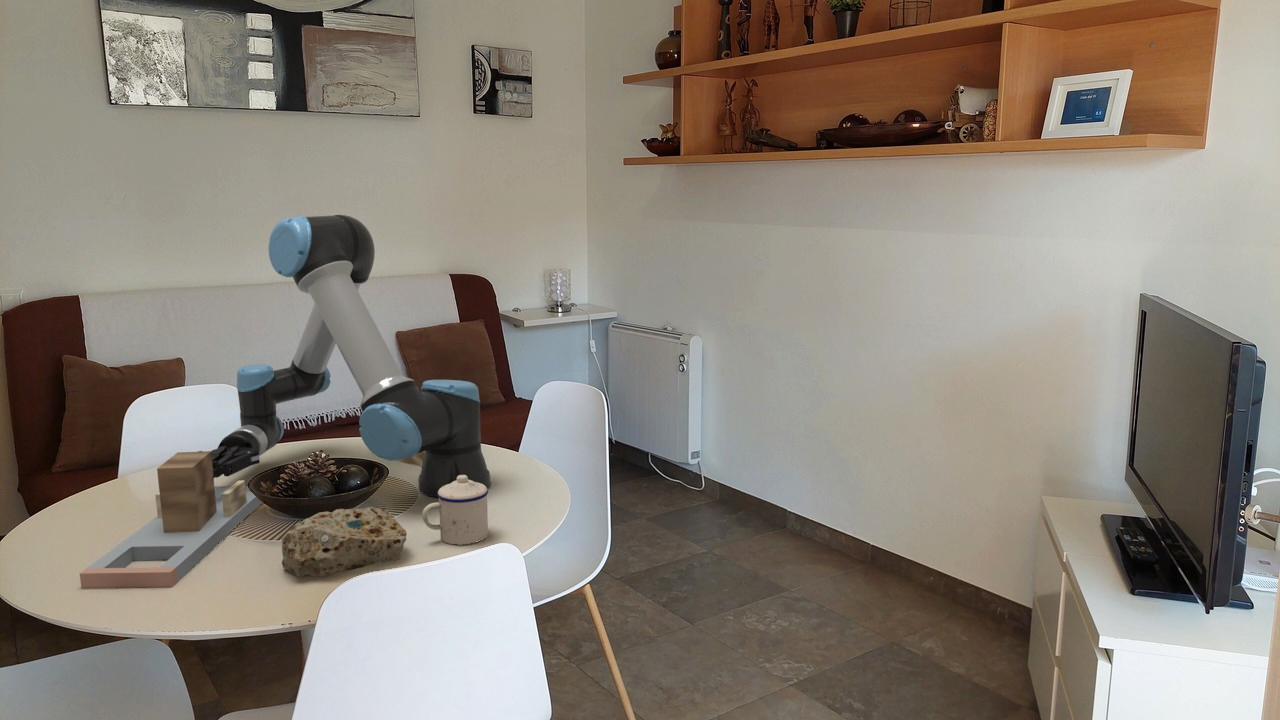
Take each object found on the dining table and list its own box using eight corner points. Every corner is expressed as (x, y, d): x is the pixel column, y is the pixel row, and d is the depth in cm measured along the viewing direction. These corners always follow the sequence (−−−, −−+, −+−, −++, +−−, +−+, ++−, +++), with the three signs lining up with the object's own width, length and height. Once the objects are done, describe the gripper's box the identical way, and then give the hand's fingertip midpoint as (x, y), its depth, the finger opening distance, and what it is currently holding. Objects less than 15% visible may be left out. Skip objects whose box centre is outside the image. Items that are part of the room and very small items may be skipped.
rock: (386, 539, 171) (393, 492, 168) (412, 583, 160) (421, 534, 157) (270, 552, 160) (275, 501, 157) (290, 601, 149) (296, 547, 146)
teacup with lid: (481, 524, 176) (479, 465, 174) (495, 540, 168) (493, 479, 166) (418, 535, 170) (415, 474, 168) (430, 552, 162) (427, 489, 160)
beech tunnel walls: (177, 503, 180) (175, 481, 180) (246, 502, 181) (244, 480, 180) (157, 517, 173) (155, 494, 172) (230, 516, 173) (228, 494, 172)
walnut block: (183, 513, 175) (177, 452, 173) (216, 511, 176) (211, 451, 173) (163, 532, 165) (156, 468, 163) (199, 531, 166) (192, 467, 164)
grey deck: (198, 498, 191) (197, 486, 190) (268, 497, 191) (267, 485, 191) (81, 588, 149) (79, 573, 148) (172, 586, 149) (170, 572, 148)
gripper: (274, 463, 198) (229, 500, 175) (213, 464, 198) (160, 501, 175) (272, 429, 197) (226, 462, 174) (210, 430, 197) (156, 463, 173)
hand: (193, 482), depth 174 cm, fingers closed
